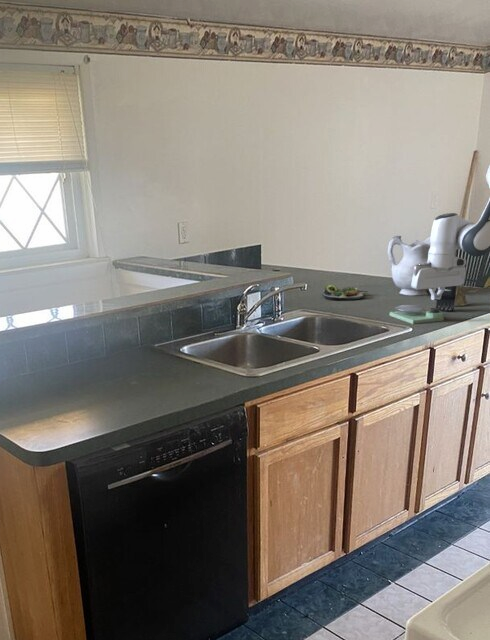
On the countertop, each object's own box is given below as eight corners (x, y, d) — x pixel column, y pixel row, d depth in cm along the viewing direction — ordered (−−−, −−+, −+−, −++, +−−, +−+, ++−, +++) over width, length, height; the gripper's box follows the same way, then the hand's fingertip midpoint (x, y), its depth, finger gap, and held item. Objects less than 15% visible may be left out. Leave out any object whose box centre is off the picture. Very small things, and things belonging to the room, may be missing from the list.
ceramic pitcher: (392, 301, 280) (400, 241, 268) (377, 289, 297) (384, 232, 285) (442, 298, 280) (452, 239, 268) (424, 287, 297) (433, 230, 286)
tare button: (440, 313, 241) (441, 309, 240) (433, 314, 240) (433, 309, 239) (435, 311, 243) (435, 307, 243) (428, 312, 243) (428, 308, 242)
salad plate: (364, 291, 294) (364, 281, 292) (371, 300, 278) (372, 289, 276) (320, 292, 296) (320, 282, 294) (325, 301, 280) (326, 290, 278)
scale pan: (429, 310, 244) (429, 309, 243) (405, 313, 241) (405, 311, 241) (412, 305, 253) (413, 303, 252) (390, 308, 250) (390, 306, 250)
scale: (445, 320, 241) (446, 312, 240) (413, 324, 238) (414, 316, 237) (419, 312, 255) (420, 304, 253) (389, 315, 251) (390, 308, 250)
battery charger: (433, 311, 255) (436, 281, 250) (436, 309, 258) (439, 280, 253) (452, 313, 251) (456, 283, 247) (454, 311, 254) (458, 281, 249)
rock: (472, 298, 263) (448, 292, 269) (472, 283, 256) (447, 277, 262) (459, 318, 260) (435, 311, 266) (458, 303, 254) (434, 297, 260)
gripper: (420, 264, 229) (416, 303, 235) (470, 260, 234) (464, 298, 239) (409, 262, 235) (405, 300, 240) (458, 257, 239) (453, 295, 245)
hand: (435, 299), depth 240 cm, fingers closed
